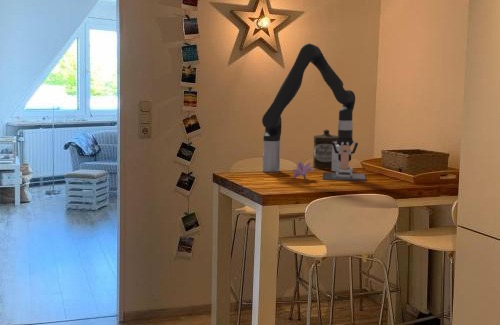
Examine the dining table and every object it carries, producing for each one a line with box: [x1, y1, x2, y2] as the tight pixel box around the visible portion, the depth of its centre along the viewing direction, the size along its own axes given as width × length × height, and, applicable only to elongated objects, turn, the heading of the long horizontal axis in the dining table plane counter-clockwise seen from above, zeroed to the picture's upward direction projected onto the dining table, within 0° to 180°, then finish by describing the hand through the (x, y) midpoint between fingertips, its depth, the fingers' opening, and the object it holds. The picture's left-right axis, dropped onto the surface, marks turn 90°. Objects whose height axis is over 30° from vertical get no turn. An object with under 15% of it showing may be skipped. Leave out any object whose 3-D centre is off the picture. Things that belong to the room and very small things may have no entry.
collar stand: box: [322, 166, 367, 182], centre depth 325 cm, size 22×16×5 cm
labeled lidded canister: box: [312, 129, 338, 170], centre depth 359 cm, size 15×15×22 cm
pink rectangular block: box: [341, 145, 350, 170], centre depth 324 cm, size 6×4×14 cm, turn 172°
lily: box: [291, 161, 315, 181], centre depth 319 cm, size 12×12×10 cm
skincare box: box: [331, 145, 341, 173], centre depth 345 cm, size 8×6×15 cm
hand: (344, 161), depth 324 cm, fingers closed on pink rectangular block, 4 cm apart
